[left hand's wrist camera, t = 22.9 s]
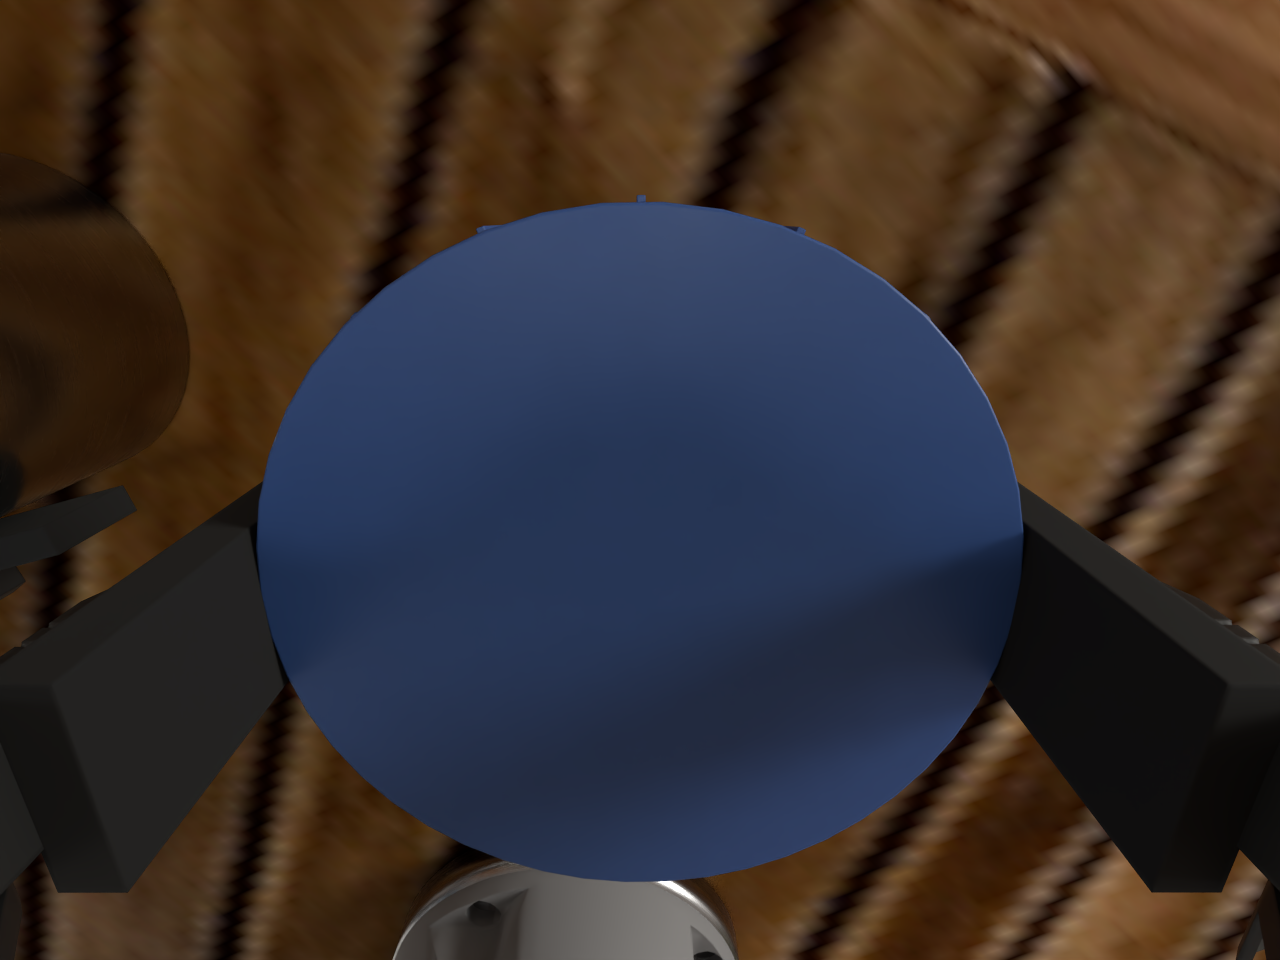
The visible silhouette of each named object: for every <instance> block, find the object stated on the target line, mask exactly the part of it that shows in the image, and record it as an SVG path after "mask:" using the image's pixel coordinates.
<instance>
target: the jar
mask: <svg viewBox="0 0 1280 960" xmlns="http://www.w3.org/2000/svg"><path fill="white" fill-rule="evenodd" d="M188 358H189V351H188V341H187V332H186V327H185V323H184V319H183V314H182V311H181V308H180V305H179V302H178V299H177V297H176V294H175V291H174V289H173V287H172V285H171V283H170V281H169V279H168V277H167V275H166V273H165V271H164V269H163V267H162V266H161V264H160V263H159V261H158V260H157V258H156V256H155V255H154V253H153V252H152V250H151V249H150V248H149V246H148V245H147V244H146V242H145V241H144V240H143V239H142V237H141V236H140V235H139V234H138V232H137V231H136V230H135V229H134V228H133V227H132V226H131V225H130V224H129V223H128V222H127V221H126V220H125V219H124V218H123V217H122V216H121V215H120V213H119V212H117V211H116V210H115V209H114V208H113V207H111V206H110V205H109V204H108V203H107V202H105V201H104V200H103V199H102V198H101V197H99V196H98V195H97V194H95V193H94V192H92V191H91V190H89V189H88V188H86V187H85V186H83V185H82V184H80V183H79V182H77V181H76V180H74V179H72V178H70V177H68V176H66V175H64V174H62V173H61V172H59V171H57V170H55V169H52V168H50V167H47V166H45V165H42V164H40V163H37V162H35V161H32V160H28V159H25V158H21V157H17V156H13V155H10V154H3V153H0V517H2V516H4V515H6V514H8V513H10V512H13V511H15V510H17V509H19V508H21V507H23V506H26V505H28V504H30V503H32V502H34V501H36V500H39V499H41V498H43V497H45V496H47V495H50V494H52V493H54V492H56V491H58V490H60V489H63V488H65V487H67V486H69V485H71V484H73V483H76V482H78V481H80V480H82V479H84V478H87V477H89V476H91V475H93V474H95V473H97V472H100V471H102V470H104V469H106V468H108V467H110V466H113V465H115V464H117V463H119V462H121V461H124V460H126V459H128V458H130V457H132V456H134V455H136V454H137V453H139V452H140V451H142V450H143V449H145V448H146V447H148V446H149V445H150V444H151V443H152V442H153V441H154V440H155V439H157V438H158V437H159V436H160V435H161V433H162V432H163V431H164V430H165V428H166V427H167V426H168V425H169V423H170V422H171V420H172V418H173V416H174V415H175V413H176V411H177V409H178V407H179V405H180V402H181V399H182V396H183V393H184V390H185V385H186V380H187V374H188Z"/></svg>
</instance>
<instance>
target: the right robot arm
mask: <svg viewBox="0 0 1280 960" xmlns="http://www.w3.org/2000/svg"><path fill="white" fill-rule="evenodd" d="M136 510H137V509H136V508H135V506H134V504H133V502H132V501H131V499H130V497H129V495H128V493H127V492H126V490H125V488H124V486H123V485H122V486H118V487H115V488H111V489H107V490H104V491H100V492H96V493H93V494H89V495H85V496H82V497H78V498H74V499H71V500H67V501H63V502H60V503H56V504H52V505H49V506H45V507H41V508H38V509H34V510H30V511H27V512H23V513H19V514H16V515H12V516H8V517H5V518H1V519H0V600H1V599H2V598H4V597H6V596H7V595H9V594H11V593H13V592H14V591H15V590H16V589H18V588H19V587H20V586H21V585H22V584H23V583H24V582H26V581H25V579H24V578H23V576H22V575H21V573H20V572H19V570H18V569H17V567H16V566H18V565H22V564H26V563H30V562H33V561H37V560H41V559H45V558H48V557H52V556H56V555H59V554H61V553H63V552H65V551H66V550H68V549H70V548H72V547H73V546H75V545H77V544H79V543H80V542H82V541H84V540H86V539H87V538H89V537H91V536H93V535H94V534H96V533H98V532H100V531H101V530H103V529H105V528H107V527H108V526H110V525H112V524H114V523H115V522H117V521H119V520H121V519H122V518H124V517H126V516H128V515H129V514H131V513H133V512H135V511H136Z"/></svg>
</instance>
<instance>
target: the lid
mask: <svg viewBox="0 0 1280 960" xmlns="http://www.w3.org/2000/svg"><path fill="white" fill-rule="evenodd" d="M476 230H477V233H478V234H476V235H474V236H472V237H470V238H468V239H466V240H464V241H462V242H459V243H457V244H455V245H453V246H451V247H449V248H447V249H445V250H443V251H441V252H439V253H436V254H434V255H432V256H431V257H429V258H428V259H426V260H425V261H423V262H422V263H420V264H419V265H417V266H416V267H414V268H413V269H411V270H410V271H408V272H407V273H405V274H404V275H403V276H401V277H400V278H398V279H397V280H395V281H394V282H392V283H391V284H389V285H388V286H386V287H385V288H384V289H383V290H382V291H380V292H379V293H378V294H377V295H376V296H375V297H374V298H373V299H372V300H371V301H370V302H368V303H367V304H366V305H365V306H364V307H363V308H362V309H361V310H360V311H359V312H356V313H354V314H353V315H352V316H351V319H350V320H349V321H348V322H347V323H346V324H345V325H344V326H343V327H342V328H341V329H340V331H339V332H338V333H337V334H336V336H335V337H334V338H333V339H332V341H331V342H330V343H329V344H328V346H327V347H326V348H325V349H324V351H323V352H322V353H321V354H320V356H319V357H318V358H317V359H316V361H315V362H314V363H313V364H312V366H311V367H310V369H309V371H308V373H307V374H306V376H305V378H304V380H303V381H302V383H301V385H300V387H299V388H298V390H297V392H296V394H295V395H294V397H293V399H292V400H291V402H290V404H289V406H288V407H287V409H286V412H285V414H284V417H283V420H282V422H281V425H280V427H279V430H278V433H277V435H276V438H275V440H274V443H273V446H272V448H271V451H270V453H269V457H268V461H267V466H266V471H265V475H264V480H263V485H262V489H261V494H260V499H259V507H258V524H257V541H256V552H257V563H258V574H259V583H260V588H261V593H262V598H263V602H264V607H265V611H266V615H267V620H268V624H269V629H270V633H271V637H272V640H273V642H274V645H275V647H276V650H277V652H278V655H279V657H280V660H281V663H282V665H283V668H284V670H285V673H286V675H287V677H288V679H289V680H290V682H291V684H292V686H293V688H294V689H295V691H296V693H297V695H298V696H299V698H300V700H301V702H302V704H303V705H304V707H305V709H306V711H307V712H308V714H309V715H310V716H311V718H312V719H313V720H314V722H315V723H316V724H317V726H318V727H319V729H320V730H321V731H322V733H323V734H324V735H325V737H326V738H327V739H328V741H329V742H330V743H331V745H332V746H333V747H334V748H335V749H336V750H337V751H338V752H339V753H340V754H341V755H342V757H343V758H344V759H345V760H346V761H347V762H348V763H349V764H350V765H351V766H352V767H353V768H354V769H355V770H356V771H357V772H358V773H359V774H360V775H361V776H362V777H363V778H364V779H365V780H366V781H368V782H369V783H370V784H371V785H372V786H374V787H375V788H376V789H377V790H378V791H380V792H381V793H382V794H383V795H384V796H386V797H387V798H388V799H389V800H390V801H392V802H393V803H394V804H396V805H397V806H399V807H400V808H402V809H403V810H405V811H406V812H408V813H409V814H411V815H412V816H414V817H415V818H417V819H418V820H420V821H421V822H423V823H424V824H426V825H427V826H429V827H431V828H433V829H435V830H437V831H439V832H441V833H443V834H445V835H447V836H449V837H450V838H452V839H454V840H456V841H458V842H460V843H462V844H464V845H466V846H469V847H471V848H474V849H476V850H479V851H482V852H484V853H487V854H489V855H492V856H494V857H497V858H499V859H502V860H505V861H508V862H512V863H515V864H519V865H522V866H526V867H529V868H533V869H537V870H540V871H544V872H550V873H555V874H561V875H566V876H572V877H577V878H583V879H594V880H606V881H618V882H666V881H675V880H685V879H694V878H703V877H710V876H715V875H719V874H724V873H729V872H734V871H739V870H743V869H748V868H751V867H754V866H758V865H761V864H764V863H767V862H770V861H774V860H777V859H780V858H783V857H786V856H789V855H791V854H794V853H796V852H798V851H801V850H803V849H805V848H808V847H810V846H812V845H815V844H817V843H819V842H822V841H824V840H826V839H828V838H830V837H832V836H833V835H835V834H837V833H839V832H841V831H842V830H844V829H846V828H848V827H850V826H851V825H853V824H855V823H857V822H859V821H860V820H862V819H863V818H865V817H866V816H868V815H869V814H871V813H872V812H873V811H875V810H876V809H878V808H879V807H880V806H882V805H883V804H885V803H886V802H888V801H889V800H890V799H892V798H893V797H895V796H896V795H897V794H898V793H899V792H900V791H902V790H903V789H904V788H905V787H906V786H907V785H908V784H909V783H911V782H912V781H913V780H914V779H915V778H916V777H917V776H919V775H920V774H921V773H922V772H923V771H924V770H925V769H926V768H927V767H928V766H929V765H930V764H931V763H932V762H933V761H934V759H935V758H936V757H937V756H938V755H939V754H940V753H941V752H942V750H943V749H944V748H945V747H946V746H947V745H948V744H949V743H950V742H951V740H952V739H953V738H954V737H955V736H956V734H957V733H958V731H959V730H960V728H961V727H962V725H963V724H964V723H965V721H966V720H967V718H968V717H969V715H970V714H971V712H972V711H973V710H974V708H975V707H976V705H977V704H978V702H979V700H980V698H981V697H982V695H983V693H984V691H985V689H986V687H987V685H988V683H989V681H990V679H991V677H992V675H993V673H994V671H995V669H996V668H997V666H998V663H999V660H1000V658H1001V655H1002V652H1003V649H1004V646H1005V644H1006V641H1007V638H1008V634H1009V630H1010V626H1011V622H1012V618H1013V613H1014V608H1015V604H1016V599H1017V595H1018V590H1019V585H1020V581H1021V575H1022V558H1023V539H1024V534H1023V524H1022V514H1021V504H1020V493H1019V487H1018V483H1017V479H1016V476H1015V472H1014V468H1013V464H1012V460H1011V456H1010V452H1009V448H1008V444H1007V441H1006V439H1005V437H1004V435H1003V432H1002V430H1001V428H1000V425H999V423H998V421H997V418H996V416H995V414H994V411H993V409H992V407H991V404H990V402H989V400H988V397H987V396H986V394H985V393H984V391H983V390H982V388H981V386H980V385H979V383H978V382H977V380H976V378H975V377H974V375H973V374H972V372H971V370H970V369H969V367H968V366H967V364H966V363H965V361H964V359H963V358H962V356H961V355H960V353H959V352H958V351H957V350H956V349H955V348H954V346H953V345H952V344H951V343H950V342H949V341H948V340H947V338H946V337H945V336H944V335H943V334H942V333H941V332H940V330H939V329H938V328H937V327H936V326H935V325H934V323H933V322H932V321H931V319H930V318H929V317H928V316H927V314H925V313H923V312H922V311H921V310H920V309H919V308H918V307H916V306H915V305H914V304H913V303H912V302H910V301H909V300H908V299H907V298H906V297H905V296H903V295H902V294H901V293H900V292H899V291H897V290H896V289H895V288H894V287H893V286H892V285H890V284H889V283H888V282H887V281H886V280H885V279H883V278H882V277H880V276H878V275H877V274H875V273H874V272H872V271H870V270H869V269H867V268H866V267H864V266H862V265H861V264H859V263H858V262H856V261H854V260H853V259H851V258H849V257H848V256H846V255H845V254H843V253H841V252H840V251H838V250H837V249H835V248H833V247H830V246H828V245H826V244H823V243H821V242H819V241H816V240H814V239H812V238H810V237H807V236H805V235H804V233H805V231H806V230H805V229H803V228H800V227H791V226H782V225H779V224H775V223H771V222H768V221H764V220H760V219H757V218H753V217H749V216H746V215H742V214H738V213H734V212H731V211H727V210H723V209H716V208H708V207H700V206H692V205H683V204H675V203H667V202H645V195H637V202H631V203H599V204H593V205H586V206H580V207H574V208H568V209H561V210H555V211H549V212H543V213H539V214H536V215H533V216H529V217H526V218H523V219H520V220H517V221H513V222H510V223H507V224H504V225H495V226H482V227H479V228H477V229H476Z"/></svg>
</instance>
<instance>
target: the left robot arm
mask: <svg viewBox="0 0 1280 960" xmlns="http://www.w3.org/2000/svg"><path fill="white" fill-rule="evenodd" d="M1017 483H1018V482H1017ZM262 485H263V482H261V483H260V484H258V485H257V486H256V487H254V488H253V489H251V490H250V491H248V492H247V493H246V494H244V495H243V496H241V497H240V498H238V499H237V500H235V501H234V502H233V503H231V504H230V505H228V506H227V507H225V508H224V509H223V510H221V511H220V512H218V513H217V514H215V515H214V516H213V517H211V518H210V519H208V520H207V521H205V522H204V523H203V524H201V525H200V526H198V527H197V528H195V529H194V530H193V531H191V532H190V533H188V534H187V535H185V536H184V537H183V538H181V539H180V540H178V541H177V542H175V543H174V544H172V545H171V546H170V547H168V548H167V549H165V550H164V551H162V552H161V553H160V554H158V555H157V556H155V557H154V558H152V559H151V560H150V561H148V562H147V563H145V564H144V565H142V566H141V567H140V568H138V569H137V570H135V571H134V572H132V573H131V574H130V575H128V576H127V577H125V578H124V579H122V580H121V581H120V582H118V583H117V584H115V585H114V586H112V587H111V588H109V589H108V590H106V591H103V592H101V593H99V594H97V595H94V596H92V597H90V598H88V599H86V600H83V601H81V602H80V603H78V604H77V605H75V606H74V607H72V608H71V609H69V610H68V611H66V612H65V613H64V614H62V615H61V616H59V617H58V618H56V619H55V620H53V621H52V622H50V623H49V627H48V628H42V629H40V630H39V631H37V632H36V633H34V634H33V635H31V636H30V637H29V638H27V639H26V640H24V641H23V642H22V646H21V647H14V648H13V649H11V650H10V651H8V652H7V653H5V654H4V655H2V656H1V657H0V960H14V956H15V951H16V945H17V940H18V934H19V929H20V923H21V918H22V907H21V901H20V897H19V895H18V892H17V890H16V888H15V886H14V883H13V881H14V880H15V879H16V878H17V877H18V876H19V875H20V874H21V873H22V872H23V871H24V870H25V869H26V868H27V867H28V865H29V864H30V863H31V862H32V861H33V860H34V859H35V858H36V857H37V856H38V855H39V854H40V853H42V855H43V858H44V860H45V862H46V865H47V867H48V870H49V872H50V874H51V877H52V879H53V882H54V884H55V887H56V889H57V891H58V893H128V891H129V890H130V889H131V887H132V886H133V885H134V883H135V882H136V881H137V880H138V878H139V877H140V876H141V874H142V873H143V872H144V870H145V869H146V868H147V866H148V865H149V864H150V862H151V861H152V860H153V858H154V857H155V856H156V854H157V853H158V852H159V851H160V849H161V848H162V847H163V845H164V844H165V843H166V841H167V840H168V839H169V837H170V836H171V835H172V833H173V832H174V831H175V829H176V828H177V827H178V826H179V824H180V823H181V822H182V820H183V819H184V818H185V816H186V815H187V814H188V812H189V811H190V810H191V808H192V807H193V806H194V804H195V803H196V802H197V800H198V799H199V798H200V797H201V795H202V794H203V793H204V791H205V790H206V789H207V787H208V786H209V785H210V783H211V782H212V781H213V779H214V778H215V777H216V775H217V774H218V773H219V772H220V770H221V769H222V768H223V766H224V765H225V764H226V762H227V761H228V760H229V758H230V757H231V756H232V754H233V753H234V752H235V750H236V749H237V748H238V746H239V745H240V744H241V743H242V741H243V740H244V739H245V737H246V736H247V735H248V733H249V732H250V731H251V729H252V728H253V727H254V725H255V724H256V723H257V721H258V720H259V719H260V718H261V716H262V715H263V714H264V712H265V711H266V710H267V708H268V707H269V706H270V704H271V703H272V702H273V700H274V699H275V698H276V696H277V695H278V694H279V692H280V691H281V690H282V689H283V687H284V686H285V685H286V683H287V682H288V681H289V679H288V677H287V675H286V673H285V670H284V668H283V665H282V663H281V660H280V657H279V655H278V652H277V650H276V647H275V645H274V642H273V640H272V637H271V633H270V629H269V624H268V620H267V615H266V611H265V607H264V602H263V598H262V593H261V588H260V583H259V574H258V563H257V552H256V541H257V524H258V507H259V499H260V494H261V489H262ZM1018 487H1019V493H1020V504H1021V514H1022V524H1023V534H1024V539H1023V558H1022V575H1021V581H1020V585H1019V590H1018V595H1017V599H1016V604H1015V608H1014V613H1013V618H1012V622H1011V626H1010V630H1009V634H1008V638H1007V641H1006V644H1005V646H1004V649H1003V652H1002V655H1001V658H1000V660H999V663H998V666H997V668H996V669H995V671H994V673H993V675H992V677H991V679H990V680H991V681H992V683H993V684H994V685H995V687H996V688H997V689H998V690H999V692H1000V693H1001V694H1002V696H1003V697H1004V698H1005V700H1006V701H1007V702H1008V704H1009V705H1010V706H1011V708H1012V709H1013V710H1014V712H1015V713H1016V714H1017V715H1018V717H1019V718H1020V719H1021V721H1022V722H1023V723H1024V725H1025V726H1026V727H1027V729H1028V730H1029V731H1030V733H1031V734H1032V735H1033V737H1034V738H1035V739H1036V741H1037V742H1038V743H1039V744H1040V746H1041V747H1042V748H1043V750H1044V751H1045V752H1046V754H1047V755H1048V756H1049V758H1050V759H1051V760H1052V762H1053V763H1054V764H1055V766H1056V767H1057V768H1058V769H1059V771H1060V772H1061V773H1062V775H1063V776H1064V777H1065V779H1066V780H1067V781H1068V783H1069V784H1070V785H1071V787H1072V788H1073V789H1074V791H1075V792H1076V793H1077V795H1078V796H1079V797H1080V798H1081V800H1082V801H1083V802H1084V804H1085V805H1086V806H1087V808H1088V809H1089V810H1090V812H1091V813H1092V814H1093V816H1094V817H1095V818H1096V820H1097V821H1098V822H1099V824H1100V825H1101V826H1102V827H1103V829H1104V830H1105V831H1106V833H1107V834H1108V835H1109V837H1110V838H1111V839H1112V841H1113V842H1114V843H1115V845H1116V846H1117V847H1118V849H1119V850H1120V851H1121V852H1122V854H1123V855H1124V856H1125V858H1126V859H1127V860H1128V862H1129V863H1130V864H1131V866H1132V867H1133V868H1134V870H1135V871H1136V872H1137V874H1138V875H1139V876H1140V878H1141V879H1142V880H1143V881H1144V883H1145V884H1146V885H1147V887H1148V888H1149V889H1150V891H1151V892H1222V890H1223V887H1224V885H1225V883H1226V880H1227V878H1228V875H1229V873H1230V870H1231V868H1232V866H1233V863H1234V861H1235V858H1236V856H1237V854H1238V851H1239V849H1240V850H1241V851H1242V852H1243V853H1244V854H1245V855H1246V857H1247V858H1248V859H1249V860H1250V861H1251V862H1252V863H1253V864H1254V865H1255V866H1256V867H1257V868H1258V869H1259V870H1260V871H1261V872H1262V873H1263V874H1264V875H1265V877H1266V878H1267V879H1268V881H1267V883H1266V886H1265V888H1264V890H1263V892H1262V895H1261V897H1260V899H1259V901H1258V904H1257V906H1256V908H1255V910H1254V913H1253V915H1252V917H1251V919H1250V922H1249V924H1248V926H1247V928H1246V931H1245V933H1244V935H1243V937H1242V940H1241V942H1240V944H1239V947H1238V951H1237V957H1236V960H1253V958H1254V956H1255V953H1256V952H1258V951H1260V950H1263V949H1265V954H1266V959H1267V960H1280V653H1278V652H1277V651H1275V650H1274V649H1272V648H1271V647H1269V646H1268V645H1266V644H1259V642H1258V640H1259V639H1258V638H1256V637H1255V636H1253V635H1252V634H1250V633H1249V632H1247V631H1246V630H1244V629H1243V628H1241V627H1240V626H1238V625H1232V623H1231V620H1230V619H1228V618H1227V617H1225V616H1224V615H1222V614H1221V613H1219V612H1218V611H1216V610H1215V609H1213V608H1212V607H1211V606H1209V605H1208V604H1206V603H1205V602H1203V601H1202V600H1200V599H1199V598H1196V597H1194V596H1192V595H1190V594H1187V593H1185V592H1183V591H1181V590H1178V589H1176V588H1174V587H1172V586H1169V585H1167V584H1165V583H1163V582H1160V581H1159V580H1157V579H1156V578H1154V577H1153V576H1151V575H1150V574H1149V573H1147V572H1146V571H1144V570H1143V569H1141V568H1140V567H1139V566H1137V565H1136V564H1134V563H1133V562H1131V561H1130V560H1128V559H1127V558H1126V557H1124V556H1123V555H1121V554H1120V553H1118V552H1117V551H1116V550H1114V549H1113V548H1111V547H1110V546H1108V545H1107V544H1106V543H1104V542H1103V541H1101V540H1100V539H1098V538H1097V537H1096V536H1094V535H1093V534H1091V533H1090V532H1088V531H1087V530H1086V529H1084V528H1083V527H1081V526H1080V525H1078V524H1077V523H1076V522H1074V521H1073V520H1071V519H1070V518H1068V517H1067V516H1065V515H1064V514H1063V513H1061V512H1060V511H1058V510H1057V509H1055V508H1054V507H1053V506H1051V505H1050V504H1048V503H1047V502H1045V501H1044V500H1043V499H1041V498H1040V497H1038V496H1037V495H1035V494H1034V493H1033V492H1031V491H1030V490H1028V489H1027V488H1025V487H1024V486H1023V485H1021V484H1020V483H1018ZM393 960H739V958H738V951H737V943H736V936H735V931H734V927H733V924H732V921H731V918H730V916H729V913H728V911H727V909H726V907H725V906H724V904H723V902H722V900H721V899H720V897H719V896H718V895H717V893H716V892H715V891H714V889H713V888H712V887H711V886H710V885H709V884H708V883H707V882H706V881H705V880H704V879H703V878H694V879H685V880H675V881H666V882H618V881H606V880H594V879H583V878H577V877H572V876H566V875H561V874H555V873H550V872H544V871H540V870H537V869H533V868H529V867H526V866H522V865H519V864H515V863H512V862H508V861H505V860H502V859H499V858H497V857H494V856H492V855H489V854H487V853H484V852H482V851H479V850H476V849H472V850H470V851H467V852H466V853H464V854H462V855H461V856H459V857H457V858H455V859H454V860H452V861H451V862H450V863H448V864H447V865H445V866H444V867H443V868H442V869H440V870H439V871H438V872H437V873H436V874H435V875H434V876H433V877H432V878H431V879H430V880H429V881H428V882H427V883H426V884H425V885H424V887H423V888H422V889H421V891H420V892H419V894H418V895H417V896H416V898H415V900H414V902H413V904H412V906H411V907H410V910H409V912H408V915H407V918H406V921H405V924H404V927H403V930H402V933H401V936H400V939H399V942H398V945H397V948H396V951H395V954H394V957H393Z"/></svg>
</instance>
